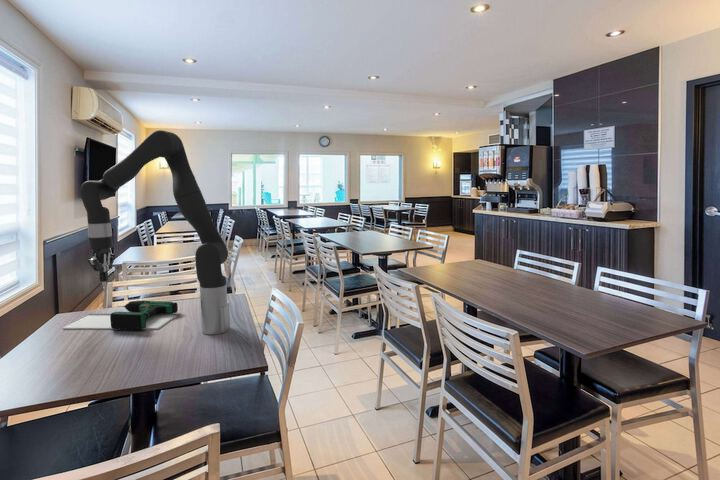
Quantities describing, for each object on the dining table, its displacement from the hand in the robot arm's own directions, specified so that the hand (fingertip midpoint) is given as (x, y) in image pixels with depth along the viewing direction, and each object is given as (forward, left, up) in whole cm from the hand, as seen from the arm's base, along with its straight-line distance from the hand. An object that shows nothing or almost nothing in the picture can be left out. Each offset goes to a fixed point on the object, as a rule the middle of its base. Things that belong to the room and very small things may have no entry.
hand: (104, 281), depth 154 cm
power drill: (-1, +4, -14) cm, 15 cm away
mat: (-2, -6, -18) cm, 19 cm away
